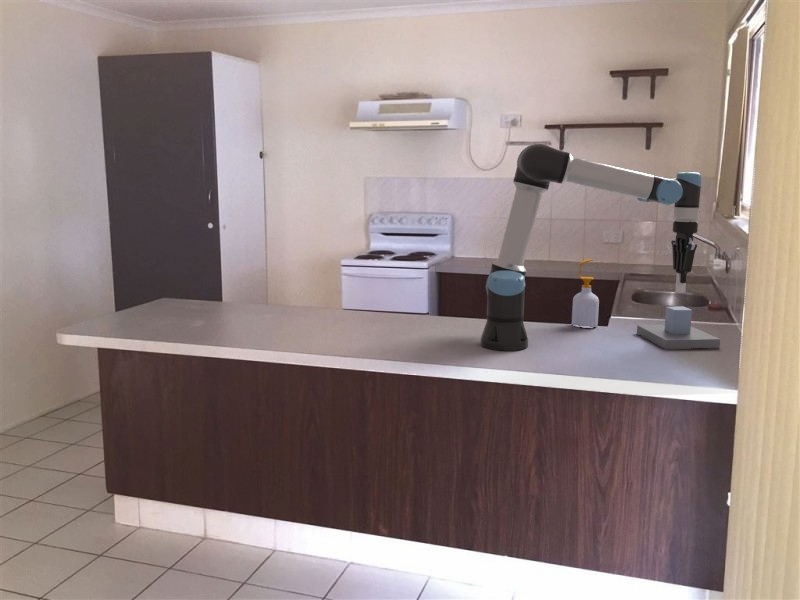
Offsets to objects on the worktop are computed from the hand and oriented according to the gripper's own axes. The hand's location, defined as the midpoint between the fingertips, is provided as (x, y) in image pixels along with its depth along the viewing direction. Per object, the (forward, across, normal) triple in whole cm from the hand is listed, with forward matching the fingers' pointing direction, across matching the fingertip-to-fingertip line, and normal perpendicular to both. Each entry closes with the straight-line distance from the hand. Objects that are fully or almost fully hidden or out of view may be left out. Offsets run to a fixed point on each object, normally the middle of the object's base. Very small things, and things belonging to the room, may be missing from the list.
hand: (680, 292), depth 241 cm
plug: (+16, 0, 0) cm, 16 cm away
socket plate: (+16, 0, 0) cm, 16 cm away
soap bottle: (+17, +24, +23) cm, 37 cm away
